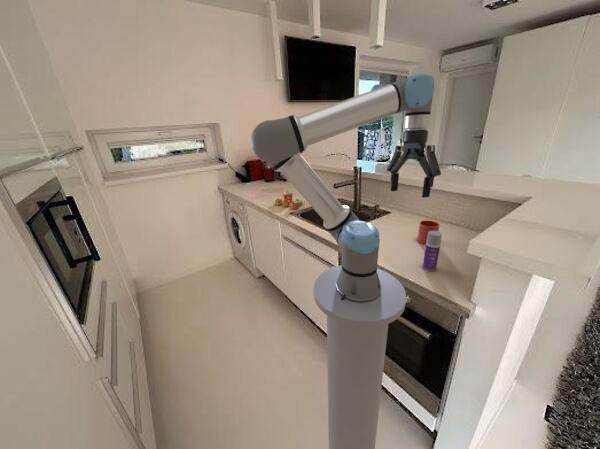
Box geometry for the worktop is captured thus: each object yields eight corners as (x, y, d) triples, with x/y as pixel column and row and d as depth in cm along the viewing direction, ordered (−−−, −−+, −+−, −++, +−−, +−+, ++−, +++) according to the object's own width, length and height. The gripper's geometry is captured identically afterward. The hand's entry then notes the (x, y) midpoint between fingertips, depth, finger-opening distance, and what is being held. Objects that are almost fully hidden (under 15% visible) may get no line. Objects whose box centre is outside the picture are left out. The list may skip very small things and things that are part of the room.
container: (427, 271, 93) (433, 236, 87) (419, 265, 97) (425, 231, 92) (438, 270, 94) (445, 234, 88) (430, 264, 98) (436, 229, 92)
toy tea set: (271, 204, 185) (270, 191, 181) (287, 199, 194) (286, 187, 190) (294, 211, 167) (293, 197, 163) (310, 205, 176) (309, 192, 172)
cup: (426, 246, 112) (429, 228, 108) (413, 239, 119) (415, 222, 115) (440, 242, 114) (443, 225, 111) (426, 236, 121) (429, 219, 118)
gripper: (461, 127, 71) (449, 198, 78) (394, 132, 93) (390, 187, 99) (444, 127, 68) (433, 201, 75) (379, 132, 89) (375, 189, 96)
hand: (408, 193), depth 87 cm, fingers open, 13 cm apart
